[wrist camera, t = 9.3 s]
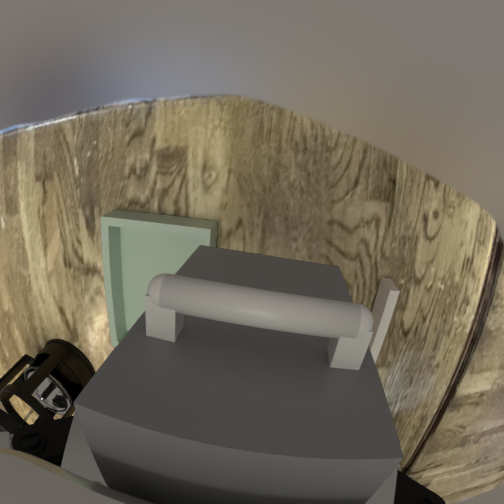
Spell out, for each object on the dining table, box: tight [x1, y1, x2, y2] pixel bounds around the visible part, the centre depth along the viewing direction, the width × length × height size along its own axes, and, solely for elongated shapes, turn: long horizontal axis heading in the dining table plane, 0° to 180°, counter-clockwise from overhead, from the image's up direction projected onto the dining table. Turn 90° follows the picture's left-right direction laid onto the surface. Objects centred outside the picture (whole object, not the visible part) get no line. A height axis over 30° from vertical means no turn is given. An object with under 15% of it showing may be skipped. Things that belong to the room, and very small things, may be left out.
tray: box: [101, 210, 218, 347], centre depth 31 cm, size 11×15×3 cm
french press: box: [0, 339, 95, 434], centre depth 27 cm, size 12×9×23 cm
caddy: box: [73, 245, 403, 504], centre depth 9 cm, size 5×9×8 cm, turn 173°
